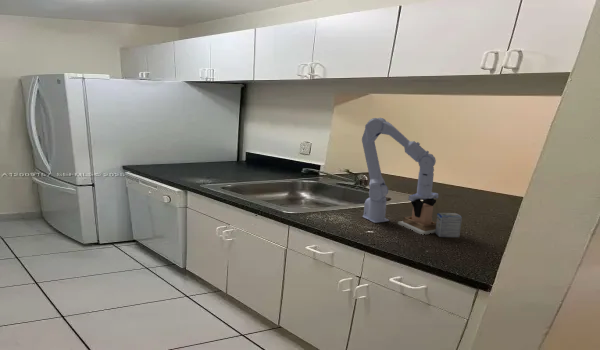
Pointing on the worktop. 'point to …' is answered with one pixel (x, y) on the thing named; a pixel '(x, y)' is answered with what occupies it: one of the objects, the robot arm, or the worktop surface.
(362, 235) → the worktop surface
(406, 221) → the cradle
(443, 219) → the medicine box
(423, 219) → the key block
